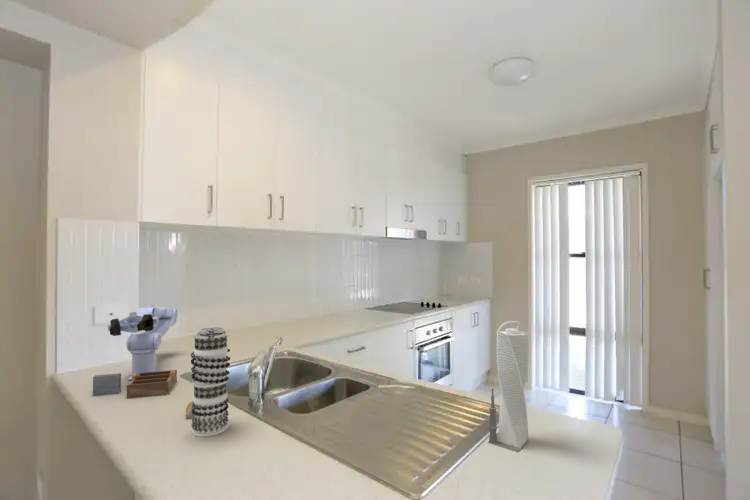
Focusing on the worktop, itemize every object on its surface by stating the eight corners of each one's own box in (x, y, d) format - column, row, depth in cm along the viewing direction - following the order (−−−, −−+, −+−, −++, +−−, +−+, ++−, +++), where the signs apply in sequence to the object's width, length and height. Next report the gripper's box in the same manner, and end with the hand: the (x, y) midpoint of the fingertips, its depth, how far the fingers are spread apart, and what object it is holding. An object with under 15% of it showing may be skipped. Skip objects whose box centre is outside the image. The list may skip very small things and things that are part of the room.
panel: (95, 394, 119) (95, 375, 119) (120, 391, 121) (121, 373, 121) (92, 396, 117) (93, 377, 117) (118, 394, 119) (119, 375, 120)
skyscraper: (501, 431, 94) (500, 318, 94) (535, 441, 88) (533, 321, 89) (487, 443, 87) (486, 322, 88) (523, 455, 82) (522, 326, 83)
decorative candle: (191, 424, 97) (192, 327, 98) (230, 418, 100) (230, 325, 101) (187, 440, 89) (188, 333, 89) (229, 433, 92) (230, 331, 93)
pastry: (187, 408, 108) (187, 394, 108) (213, 404, 111) (213, 391, 111) (185, 420, 100) (185, 406, 100) (212, 417, 102) (213, 402, 102)
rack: (139, 384, 128) (139, 369, 128) (176, 381, 132) (176, 366, 132) (126, 398, 115) (126, 381, 115) (168, 394, 119) (168, 378, 119)
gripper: (113, 312, 130) (96, 320, 117) (160, 306, 134) (149, 313, 121) (116, 332, 130) (99, 343, 117) (162, 325, 134) (151, 335, 121)
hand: (125, 329), depth 119 cm, fingers open, 7 cm apart
